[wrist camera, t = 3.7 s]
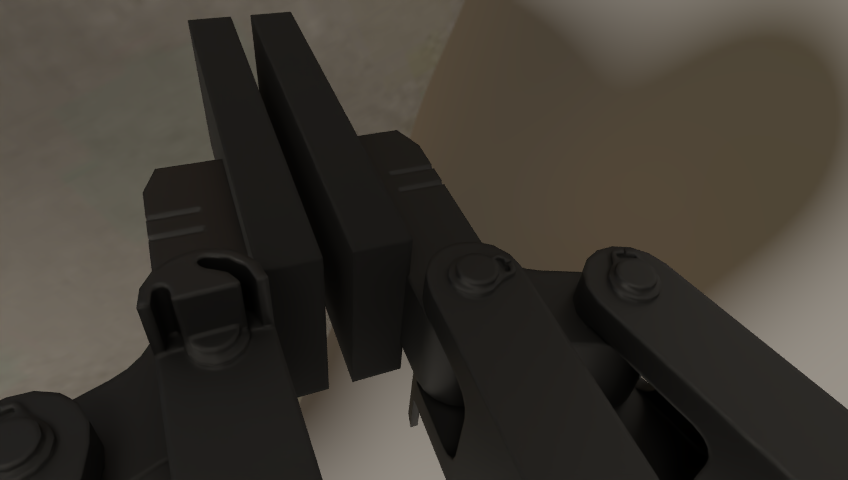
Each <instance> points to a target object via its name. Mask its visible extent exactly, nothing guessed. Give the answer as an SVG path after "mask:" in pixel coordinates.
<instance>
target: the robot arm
mask: <svg viewBox="0 0 848 480" xmlns="http://www.w3.org/2000/svg"><path fill="white" fill-rule="evenodd" d="M188 23H189V29H190V34H191V39H192V45H193V50H194V55H195V61H196V66H197V71H198V77H199V82H200V87H201V93H202V98H203V103H204V109H205V114H206V119H207V125H208V130H209V135H210V141H211V146H212V150H213V153H214V157H215V160H212V161H205V162H199V163H192V164H186V165H179V166H172V167H166V168H159V169H155V170H154V172H153V174H152V176H151V178H150V180H149V182H148V183H147V185H146V187H145V189H144V191H143V199H144V207H145V216H146V225H147V233H148V239H149V251H150V259H151V268H152V272H151V273H150V275H149V276H148V277H147V279H146V280H145V282H144V283H143V284H142V286H141V287H140V289H139V295H138V301H137V307H136V308H137V311H138V313H139V316H140V319H141V321H142V324H143V327H144V330H145V332H146V335H147V338H148V340H149V343H150V344H149V346H148V347H147V348H146V350H145V351H144V353H143V354H142V356H141V357H140V358H139V359H137V360H136V361H135V362H134V363H133V364H132V365H131V366H130V367H129V368H128V369H126V370H125V371H123V372H122V373H120V374H119V375H117V376H116V377H114V378H112V379H111V380H109V381H107V382H105V383H104V384H102V385H100V386H98V387H96V388H94V389H92V390H90V391H88V392H86V393H85V394H83V395H81V396H79V397H77V398H75V399H73V400H72V399H70V398H68V397H67V396H65V395H63V394H61V393H54V392H41V391H33V392H28V393H24V394H19V395H15V396H11V397H6V398H4V399H2V400H0V480H322V477H321V473H320V470H319V467H318V463H317V460H316V457H315V454H314V450H313V447H312V445H311V441H310V438H309V434H308V431H307V428H306V425H305V421H304V418H303V415H302V412H301V408H300V405H299V402H298V399H297V398H298V397H301V396H305V395H308V394H312V393H315V392H319V391H322V390H326V389H329V382H328V361H327V360H328V359H327V336H326V313H325V307H326V309H327V312H328V315H329V318H330V321H331V323H332V326H333V329H334V332H335V334H336V337H337V340H338V343H339V346H340V348H341V351H342V354H343V357H344V360H345V362H346V365H347V368H348V371H349V373H350V376H351V379H352V382H354V381H358V380H361V379H365V378H368V377H372V376H375V375H379V374H382V373H386V372H389V371H393V370H396V369H400V367H401V357H402V347H403V350H404V352H405V354H406V356H407V358H408V361H409V363H410V365H411V368H412V370H413V380H412V389H411V396H410V405H409V413H408V414H409V420H410V426H411V427H413V426H416V425H418V418H419V413H420V416H421V418H422V421H423V423H424V426H425V428H426V431H427V433H428V435H429V438H430V441H431V443H432V445H433V448H434V451H435V453H436V455H437V458H438V460H439V463H440V465H441V468H442V471H443V473H444V476H445V478H446V480H848V409H846V408H845V407H844V406H843V405H842V404H840V403H839V402H838V401H836V400H835V399H834V398H833V397H832V396H830V395H829V394H828V393H827V392H825V391H824V390H823V389H822V388H820V387H819V386H818V385H817V384H815V383H814V382H813V381H811V380H810V379H809V378H808V377H807V376H805V375H804V374H803V373H802V372H800V371H799V370H798V369H797V368H795V367H794V366H793V365H792V364H790V363H789V362H788V361H786V360H785V359H784V358H783V357H782V356H780V355H779V354H778V353H776V352H775V351H774V350H773V349H772V348H770V347H769V346H768V345H767V344H765V343H764V342H763V341H762V340H760V339H759V338H758V337H757V336H755V335H754V334H753V333H752V332H750V331H749V330H748V329H747V328H745V327H744V326H743V325H742V324H740V323H739V322H738V321H737V320H735V319H734V318H733V317H732V316H730V315H729V314H728V313H727V312H725V311H724V310H723V309H721V308H720V307H719V306H718V305H717V304H715V303H714V302H713V301H712V300H710V299H709V298H708V297H707V296H705V295H704V294H703V293H702V292H700V291H699V290H698V289H697V288H695V287H694V286H693V285H692V284H690V283H689V282H688V281H687V280H685V279H684V278H683V277H682V276H680V275H679V274H678V273H677V272H675V271H674V270H673V269H672V268H670V267H669V266H668V265H667V264H665V263H664V262H662V261H660V260H659V259H657V258H656V257H654V256H652V255H650V254H649V253H646V252H643V251H640V250H636V249H634V248H631V247H613V246H612V247H609V248H605V249H601V250H597V251H596V252H595V253H594V254H592V255H591V256H590V257H589V258H588V259H587V260H586V263H585V266H584V268H583V271H582V272H564V271H563V272H562V271H539V270H531V269H525V268H522V267H521V266H520V265H519V263H518V262H517V261H516V260H515V259H514V258H513V257H512V256H511V255H510V254H508V253H506V252H505V251H503V250H501V249H499V248H497V247H495V246H493V245H489V244H484V243H482V242H481V241H480V239H479V238H478V236H477V235H476V233H475V232H474V230H473V228H472V227H471V225H470V224H469V222H468V221H467V219H466V218H465V216H464V215H463V213H462V212H461V210H460V208H459V207H458V205H457V204H456V202H455V200H454V199H453V198H452V196H451V194H450V193H449V191H448V190H447V188H446V187H445V185H444V184H443V185H442V183H441V179H440V177H439V176H438V174H437V173H436V171H435V170H434V169H432V167H431V163H430V162H429V160H428V158H427V157H426V156H425V154H424V152H423V151H422V149H421V148H420V146H419V145H418V144H416V143H415V142H413V141H412V140H411V139H409V138H408V137H406V136H405V135H403V134H402V133H400V132H399V131H397V130H395V131H388V132H382V133H375V134H368V135H362V136H357V134H356V132H355V131H354V129H353V127H352V125H351V123H350V121H349V119H348V117H347V116H346V114H345V112H344V110H343V108H342V106H341V104H340V103H339V101H338V99H337V97H336V95H335V93H334V91H333V90H332V88H331V86H330V84H329V82H328V80H327V78H326V77H325V75H324V73H323V71H322V69H321V67H320V65H319V63H318V62H317V60H316V58H315V56H314V54H313V52H312V50H311V49H310V47H309V45H308V43H307V41H306V39H305V37H304V36H303V34H302V32H301V30H300V28H299V26H298V24H297V23H296V21H295V19H294V17H293V15H292V13H291V12H283V13H271V14H258V15H251V24H252V32H253V41H254V50H255V59H256V67H257V76H258V85H259V89H258V87H257V84H256V82H255V79H254V76H253V74H252V71H251V68H250V66H249V63H248V61H247V58H246V55H245V53H244V50H243V48H242V45H241V42H240V40H239V37H238V34H237V32H236V29H235V27H234V24H233V21H232V19H231V17H222V18H209V19H197V20H188ZM641 376H642V377H643V378H644V379H645V380H646V381H647V382H646V381H645V380H644V379H642V378H641Z"/></svg>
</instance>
